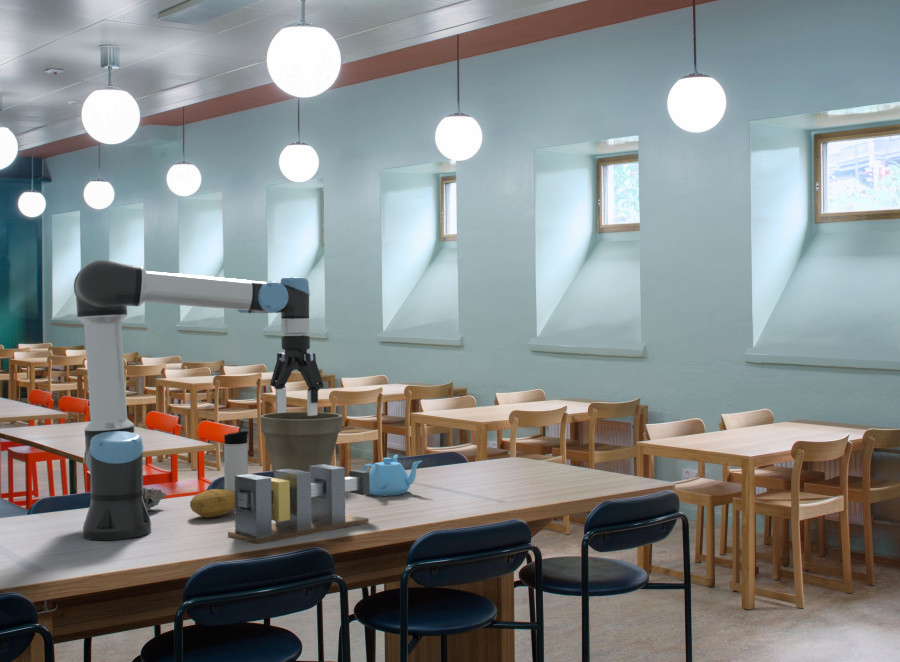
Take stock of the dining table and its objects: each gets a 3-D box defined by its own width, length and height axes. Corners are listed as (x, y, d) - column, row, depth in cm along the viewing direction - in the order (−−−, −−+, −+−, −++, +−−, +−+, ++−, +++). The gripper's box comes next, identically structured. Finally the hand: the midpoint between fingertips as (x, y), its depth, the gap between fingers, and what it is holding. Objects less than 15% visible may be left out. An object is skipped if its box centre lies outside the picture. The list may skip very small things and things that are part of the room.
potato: (185, 516, 245) (185, 489, 245) (234, 510, 251) (234, 484, 251) (195, 522, 237) (195, 494, 237) (245, 516, 243) (244, 489, 243)
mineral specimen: (135, 529, 254) (159, 522, 248) (112, 512, 250) (137, 504, 244) (150, 499, 260) (174, 491, 255) (128, 482, 256) (152, 474, 251)
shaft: (248, 514, 214) (248, 489, 214) (235, 510, 218) (234, 486, 218) (369, 494, 238) (369, 471, 238) (355, 491, 242) (355, 469, 242)
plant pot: (359, 482, 295) (358, 412, 295) (308, 495, 273) (307, 419, 273) (296, 477, 307) (295, 410, 307) (243, 488, 286) (242, 416, 286)
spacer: (279, 521, 218) (278, 482, 218) (257, 516, 224) (257, 478, 224) (290, 519, 220) (289, 480, 220) (268, 514, 226) (267, 476, 226)
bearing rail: (256, 543, 212) (255, 481, 212) (228, 535, 221) (227, 475, 220) (368, 522, 234) (368, 465, 234) (338, 515, 243) (338, 461, 243)
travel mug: (243, 506, 257) (242, 432, 257) (220, 505, 259) (220, 432, 258) (252, 502, 263) (252, 429, 263) (230, 501, 265) (229, 429, 265)
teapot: (354, 492, 279) (353, 457, 279) (399, 487, 286) (399, 452, 286) (376, 499, 266) (375, 462, 266) (423, 494, 274) (422, 458, 274)
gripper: (336, 334, 249) (337, 415, 250) (279, 334, 267) (280, 410, 267) (313, 335, 244) (314, 417, 244) (256, 335, 261) (258, 412, 261)
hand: (296, 414), depth 256 cm, fingers open, 13 cm apart
